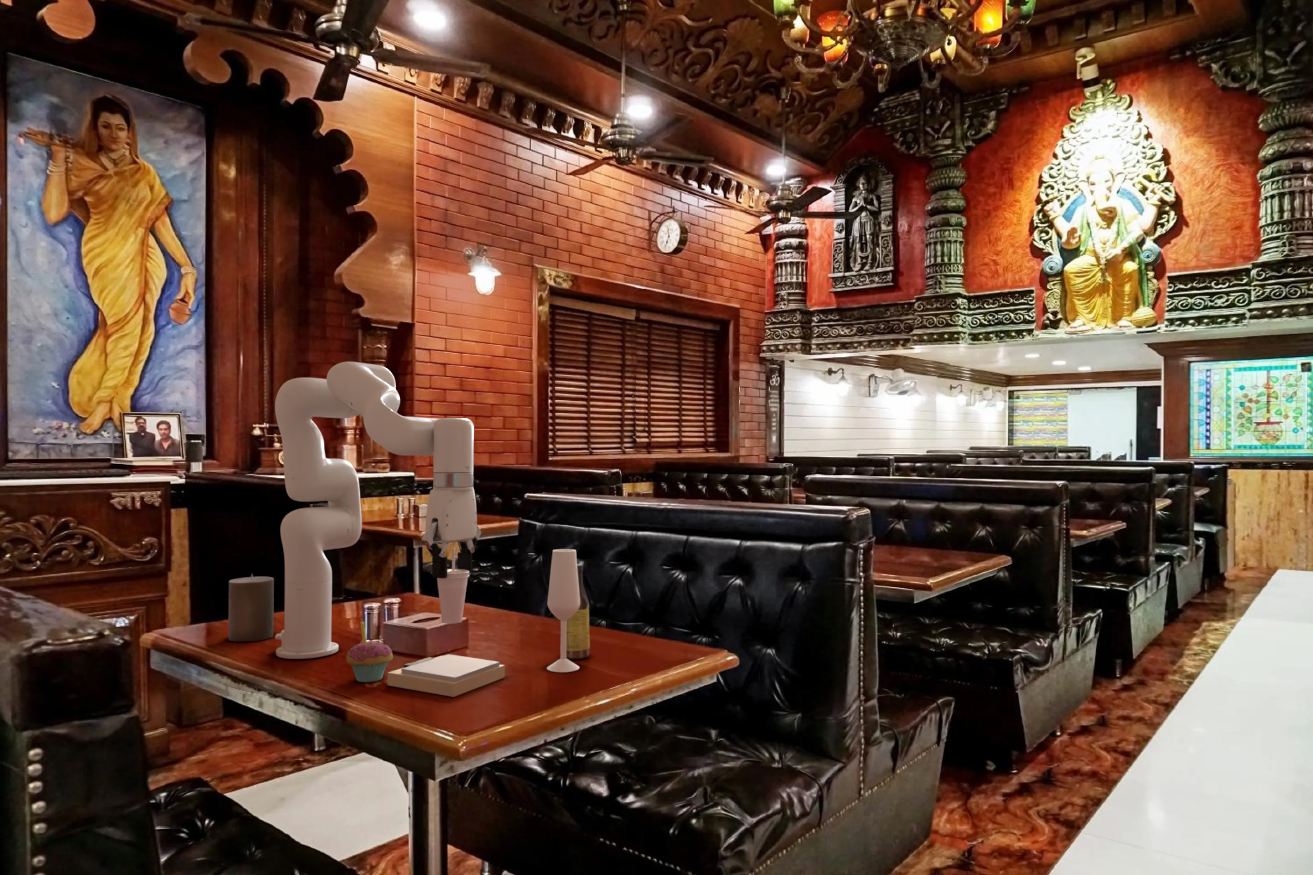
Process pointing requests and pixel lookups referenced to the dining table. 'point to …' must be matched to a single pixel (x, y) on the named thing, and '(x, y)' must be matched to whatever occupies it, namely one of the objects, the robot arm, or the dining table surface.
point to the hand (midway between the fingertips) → (452, 574)
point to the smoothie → (452, 593)
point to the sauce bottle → (578, 626)
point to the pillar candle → (251, 609)
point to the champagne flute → (563, 599)
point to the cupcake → (369, 659)
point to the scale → (446, 674)
